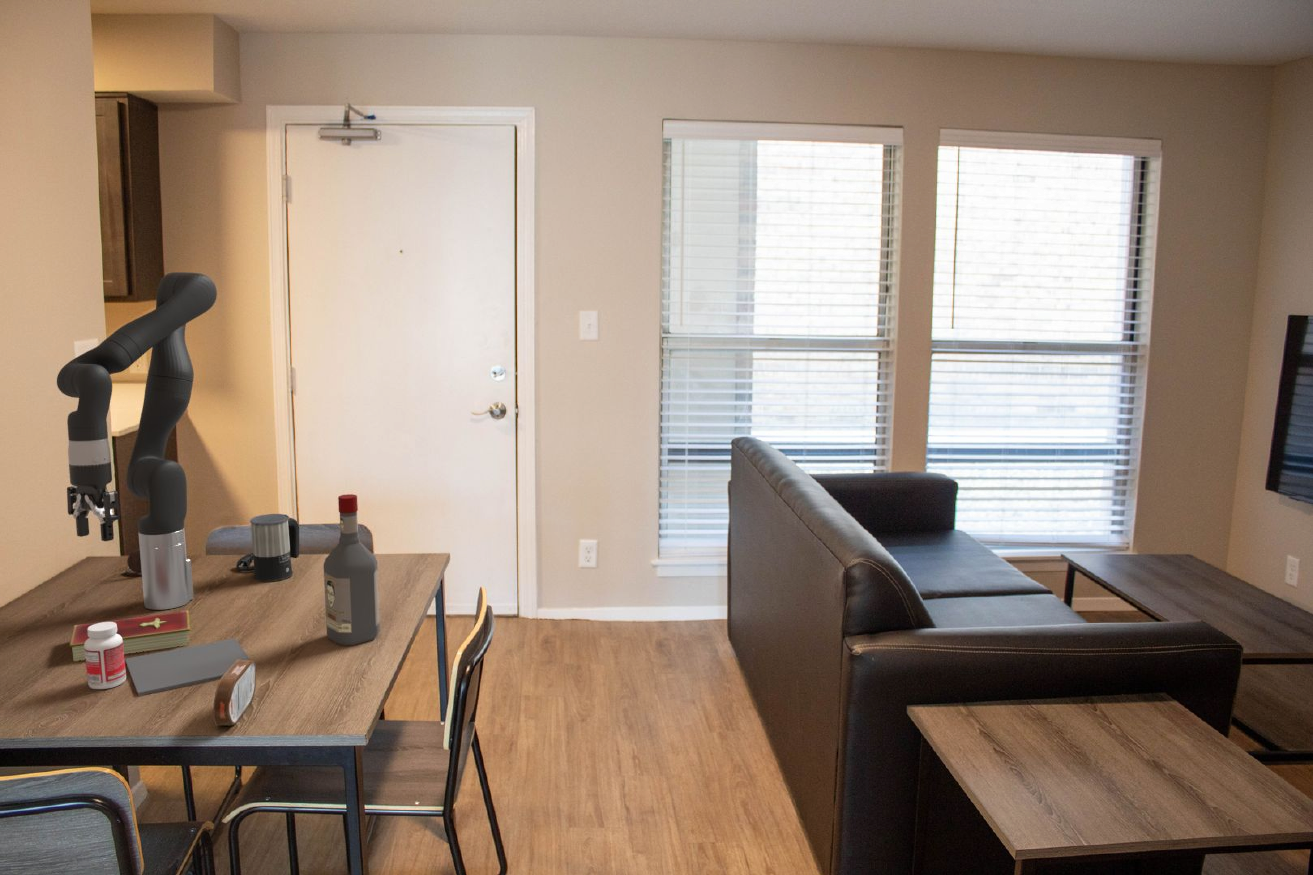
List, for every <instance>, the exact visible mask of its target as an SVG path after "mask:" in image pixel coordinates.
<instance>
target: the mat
mask: <svg viewBox="0 0 1313 875" xmlns="http://www.w3.org/2000/svg"><path fill="white" fill-rule="evenodd" d="M124 659H125V665H126V664H127V665H126V667H127V669H128V673H129V672H130V673H129V675H130V677H131V680H132V682H133V685H134V688H135V691H136V693H138V694H137V696H138V697H140V696H145V695H144V694H146V695H149V693H150V694H153V693H158V692H164V691H168V690H174V689H178V688H182V687H188V686H193V685H197V684H202V683H207V682H211V681H215V680H216V681H217V680H220V679H221V678H222V676H223V675H224V674H225V673H226V672H227V671H228V670H229V668H230V667H231V666H232V665H233V664H234V663H235V661H236V660H238V659H241V660H251V659H250V657H249V655H248V654H247V653H246V652H245V650H244V649H243V648H242V646H241V644H240V643H239V641H238V640H237V638H236V637H233V638H228V639H222V640H218V641H213V642H207V643H201V644H196V645H192V646H186V647H185V646H184V647H181V648H176V649H175V648H174V649H169V650H165V651H160V652H154V653H150V654H145V655H140V656H139V655H138V656H134V657H129V658H128V657H127V658H124Z"/></svg>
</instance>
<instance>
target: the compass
mask: <svg viewBox="0 0 1313 875" xmlns="http://www.w3.org/2000/svg"><path fill="white" fill-rule="evenodd" d="M126 562H127V566H128V567H127V568H126V569H125V570H122V571H121V570H120V571H117V572H116V575H120V574H121V575H122V574H124V575H126V576H129V577H138V576H142V570H141V557H140V548H137V549H134V550H133V551H132V552H131V553H130V554H129V555H128V557H127V561H126Z"/></svg>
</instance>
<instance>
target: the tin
mask: <svg viewBox="0 0 1313 875" xmlns="http://www.w3.org/2000/svg"><path fill="white" fill-rule="evenodd" d="M256 672H257V664H256V662H255V661H254V660H252V659H250V660H241V659H238V660H236V661H235V663H234V664H233V665H232V666H231V667H230V668H229V670H228V671H227V672H226V673H225V674H224V675H223V676H222V678H221V679H219V682H218V683H217V687H216V689H215V690H216V691H215V693H214V698H213V720H214V724H215V726H219V727H220V726H234V725H236V724H237V723H238V721H239V720H240V719H241V717H242V716H243V715H244V714H245V712H246V711H247V709H248V708H249V706H250V705H251V704H252V702H253V699H254V696H255V691H256V688H257V683H256V675H257V673H256Z"/></svg>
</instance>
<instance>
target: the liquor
mask: <svg viewBox="0 0 1313 875" xmlns="http://www.w3.org/2000/svg"><path fill="white" fill-rule="evenodd" d="M337 500H338V502H337V504H338V513H339V528H340V529H339V533H340V535H339V536H340V537H339V539H338V543H337V545H336V546H335V547H334V549H332V551H331V552H330V553H329V554H328V555H327V557H325V558H324V563H323V578H324V579H323V580H324V601H325V604H324V605H325V622H326V623H325V625H326V635H327V638H329V640H331V641H333V642H335V643H336V644H338V645H339V646H351V647H352V646H357V645H359V644H364V643H367V642H370V641H371V642H372V641H373V640H374V641H375V639H376V638H377V636H378V635H379V633H380V632H381V627H380V625H381V622H380V602H379V600H380V598H379V597H380V595H379V573H378V571H379V570H378V560H377V558H376V555H374V554H373V553H372V551H370V549H368V548H367V547H366V546H365V545H364V544H363V543H362V542H361V538H360V537H359V536H360V535H359V525H358V511H359V509H358V508H359V507H358V495H357V494H353V493H351V494H341V495H339V496H338V497H337Z"/></svg>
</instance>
